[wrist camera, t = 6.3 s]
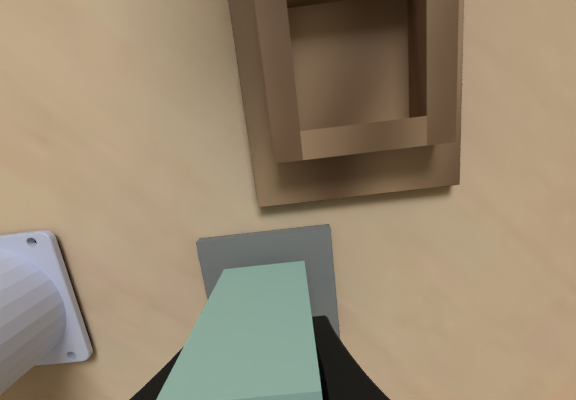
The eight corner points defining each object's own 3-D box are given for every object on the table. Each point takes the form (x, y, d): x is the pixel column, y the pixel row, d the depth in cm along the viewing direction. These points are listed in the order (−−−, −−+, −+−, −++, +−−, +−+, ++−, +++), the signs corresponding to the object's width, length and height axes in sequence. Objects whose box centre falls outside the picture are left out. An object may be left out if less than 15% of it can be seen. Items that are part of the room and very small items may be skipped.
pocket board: (259, 204, 14) (254, 216, 12) (220, -67, 11) (204, -116, 9) (452, 182, 14) (482, 190, 11) (457, -102, 11) (498, -160, 9)
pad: (221, 347, 16) (219, 355, 15) (199, 238, 14) (196, 242, 14) (338, 336, 16) (340, 344, 15) (328, 224, 14) (330, 227, 14)
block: (236, 339, 14) (185, 528, 7) (223, 269, 13) (152, 406, 6) (312, 331, 14) (335, 516, 7) (304, 260, 13) (321, 390, 6)
